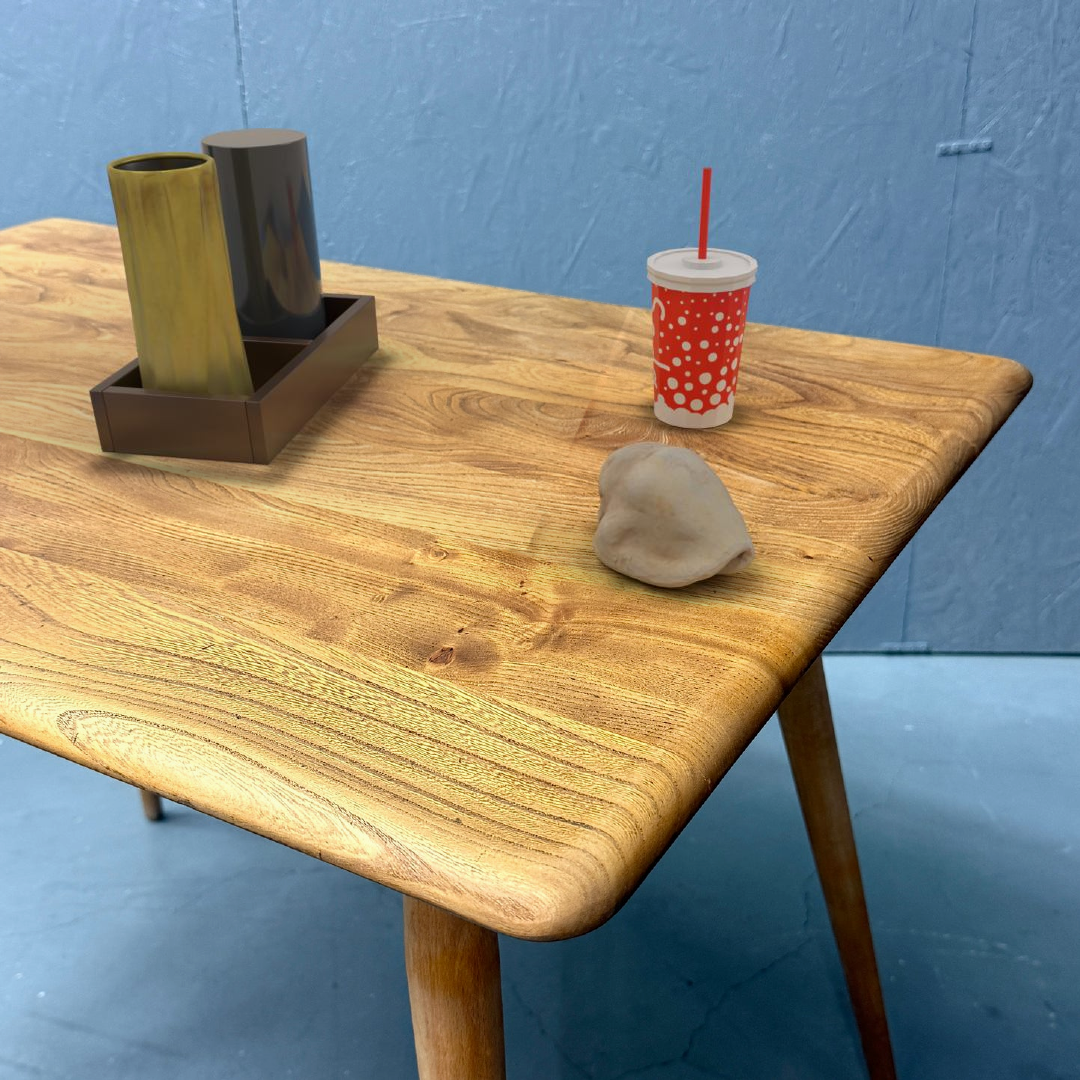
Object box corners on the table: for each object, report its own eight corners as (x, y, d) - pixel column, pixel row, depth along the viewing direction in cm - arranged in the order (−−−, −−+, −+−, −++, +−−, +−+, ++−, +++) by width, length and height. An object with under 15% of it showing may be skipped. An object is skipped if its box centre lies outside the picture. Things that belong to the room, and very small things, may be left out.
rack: (103, 464, 63) (88, 390, 60) (245, 350, 78) (236, 288, 76) (269, 478, 61) (259, 402, 59) (380, 358, 77) (374, 295, 74)
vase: (247, 445, 62) (206, 173, 55) (133, 447, 62) (78, 174, 55) (269, 402, 67) (235, 148, 60) (164, 403, 67) (118, 150, 60)
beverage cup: (653, 388, 71) (663, 154, 64) (753, 399, 70) (773, 160, 63) (630, 426, 66) (637, 176, 59) (736, 439, 65) (756, 183, 58)
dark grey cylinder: (218, 382, 71) (181, 145, 64) (257, 349, 76) (227, 127, 69) (310, 388, 70) (282, 148, 63) (343, 354, 75) (321, 129, 68)
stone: (730, 573, 57) (629, 447, 57) (800, 524, 51) (688, 385, 52) (639, 648, 53) (533, 513, 54) (704, 604, 48) (586, 455, 49)
